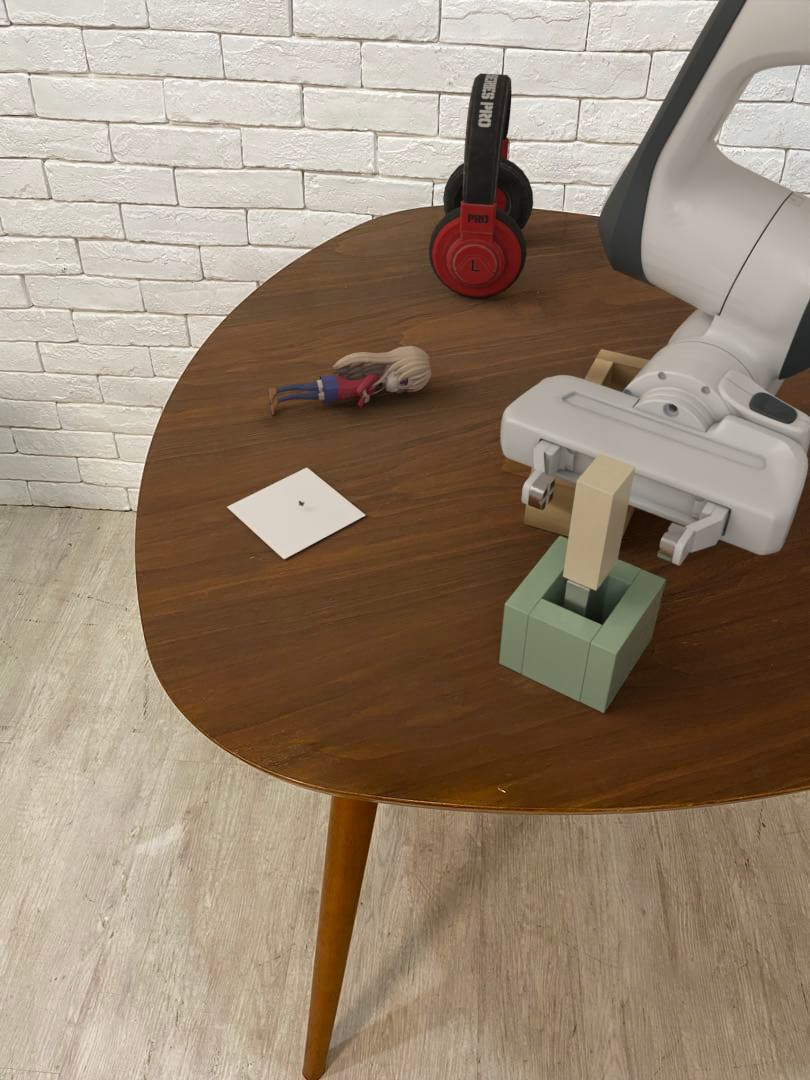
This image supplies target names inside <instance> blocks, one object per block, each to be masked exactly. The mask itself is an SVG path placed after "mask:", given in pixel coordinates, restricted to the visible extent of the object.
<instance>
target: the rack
mask: <svg viewBox="0 0 810 1080" xmlns="http://www.w3.org/2000/svg"><path fill="white" fill-rule="evenodd" d="M650 360H651V359H647V358H642V357H638V356H633V355H629V354H625V353H620V352H616V351H611V350H608V349H604V348H601V349H600V350H599V352H598V354H597V356H596V357H595V359H594V361H593V363H592V364H591V366H590V367H589V370H588V371H587V373H586V375H585V376H584V378H583V379H584V380H587V381H590V382H593V383H596V384H599V385H602V386H605V387H608V388H611V389H614V390H617V391H620V392H623V391H624V390H625V388H626V387H627V386H628V385H629V383H630V382H631V381H632V380H633V379H634V378H635V377H636V375H637V374H638V373H639V372H640V371H641V370H642V369H643V368H644V366H645V365H646V364H647V363H648V362H649V361H650ZM530 476H531V472H530V473H529V475H528V478H529V477H530ZM553 477H555V476H553ZM553 490H554V494H553V499H552V500H551V501H550V503H549V504H546V505H545V508H544V510H540V509H537V508H534V507H532V506H529V505H527V504H525V510H524V518H523V519H524V520H523V522H524V523H523V524H524V525H527V526H530V527H532V528H533V527H534V528H537V529H541V530H544V531H546V532H547V531H548V532H550V533H554V534H557V535H560V536H563V537H567V538H568V537H569V531H570V524H571V517H572V510H573V503H574V496H575V490H576V484H573V483H571V482H568V481H566V480H563V479H560V478H558V477H555V486H554V487H553ZM635 510H636V507H633V506H631V505H628V508H627V514H626V519H625V524H624V529H623V534H622V539H623V538H624V535H625V532H626V530H627V529H628V525H629V523H630V522H631V520H632V516H633V514H634V512H635ZM622 539H621V541H622Z"/></svg>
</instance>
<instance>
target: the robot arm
mask: <svg viewBox="0 0 810 1080" xmlns="http://www.w3.org/2000/svg"><path fill="white" fill-rule="evenodd" d="M794 66H810V0H718V1H717V4H716V5H715V7H714V8H713V10H712V12H711V14H710V16H709V17H708V18H707V20H706V23H705V24H704V26H703V27H702V29H701V31H700V33H699V35H698V37H696V40H695V41H694V44H693V45H692V47H691V49H690V51H689V52H688V55H687V56H686V58H685V60H684V62H683V64H682V66H681V67H680V69H679V71H678V73H677V75H676V77H675V79H673V80H674V81H673V82H672V84H671V86H670V88H669V90H668V92H667V94H666V95H665V97H664V99H663V101H662V103H661V105H660V106H659V109H658V110H657V112H656V114H655V116H654V118H653V120H652V121H651V123H650V125H649V127H648V129H647V130H646V132H645V134H644V136H643V138H642V139H641V142H640V144H639V145H638V147H637V148H636V150H635V152H634V153H633V155H631V157H630V158H629V159H628V160H627V162H626V163H625V165H623V167H622V168H621V169H620V171H619V172H618V174H617V176H616V177H615V178H614V181H613V182H612V184H611V186H610V187H609V189H608V191H607V194H606V195H605V198H604V201H603V203H602V206H601V210H600V215H599V216H598V220H597V229H598V234H599V238H600V242H601V245H602V247H603V250H604V252H605V255H606V258H607V260H608V262H609V264H610V267H611V268H612V270H613V271H615V272H617V273H620V274H622V275H624V276H627V277H630V278H632V279H634V280H637V281H639V282H642V283H643V284H646V285H648V286H651V287H654V288H655V287H657V288H659V289H660V290H662V291H664V292H666V293H668V294H670V295H672V296H674V297H676V298H677V299H678V300H679V299H680V300H681V301H683V302H685V303H687V304H689V305H691V306H692V307H694V308H695V310H694V311H693V312H692V313H691V314H690V315H689V316H688V317H687V318H686V319H685V320H684V321H683V322H682V323H681V324H680V326H678V328H677V329H676V330H675V331H674V332H673V334H672V335H671V337H670V338H669V341H668V342H667V344H666V345H664V346H663V347H662V348H660V349H658V351H657V352H656V353H655V354H653V356H652V357H651V358H650V359H649V360H650V361H649V362H648V363H647V364H646V365H645V366H644V368H643V369H642V370H641V371H640V372H639V373H638V374H637V375H636V377H635V378H634V379H633V380H632V381H631V382H630V383H629V385H628V386H627V387H626V388H625V390H624V391H623V392H620V391H617V390H614V389H611V388H608V387H605V386H602V385H599V384H596V383H593V382H590V381H587V380H584V378H581V377H577V376H574V375H569V374H558V375H553V376H548V377H545V378H543V379H542V380H540V381H539V382H538V383H537V384H535V385H534V386H532V387H531V388H530V389H528V390H526V391H525V392H523V393H522V394H521V395H520V396H518V397H516V399H515V400H513V401H512V402H511V403H510V404H509V405H508V406H507V407H505V409H504V411H503V414H502V417H501V422H500V430H499V431H500V432H499V433H500V434H499V438H500V439H499V441H500V447H501V450H502V454H503V455H504V457H505V458H507V459H509V460H511V461H514V462H516V463H519V464H521V465H525V466H527V467H530V468H531V470H530V473H531V476H530V477H529V476H528V478H527V479H526V481H525V482H524V483H523V486H522V490H521V503H522V504H524V505H526V504H527V505H529V506H532V507H534V508H537V509H540V510H544V508H545V505H546V504H549V503H550V501H551V500H552V499H553V494H554V490H553V487H554V486H555V477H558V478H560V479H563V480H566V481H568V482H571V483H573V484H576V483H577V480H578V479H579V478H580V476H581V475H582V474H583V473H584V472H585V471H586V469H587V468H588V467H589V466H590V465H591V463H592V462H593V461H594V460H595V459H596V457H597V456H598V455H599V454H602V455H605V456H608V457H610V458H613V459H616V460H619V461H621V462H624V463H627V464H629V465H632V466H635V472H634V477H633V482H632V488H631V493H630V498H629V503H628V505H631V506H633V507H635V509H639V510H642V511H644V512H646V513H648V514H652V515H654V516H656V517H659V518H662V519H665V520H667V521H670V522H671V523H670V525H669V526H668V527H667V531H666V532H664V533H663V535H662V537H661V539H660V542H659V545H658V548H659V550H658V551H657V555H656V556H657V558H658V559H662V560H664V561H666V562H669V563H672V564H674V565H676V566H678V567H680V566H681V565H682V564H683V562H684V561H685V559H686V558H687V556H688V555H689V553H695V552H698V551H701V550H704V549H707V548H710V547H713V546H716V545H717V543H718V542H719V541H722V542H724V543H727V544H729V545H733V546H734V547H737V548H739V549H743V550H746V551H748V552H751V554H752V553H753V554H755V555H758V556H767V555H772V554H776V553H778V552H780V551H781V550H782V548H783V546H784V544H785V543H786V540H787V538H788V535H789V532H790V529H791V527H792V524H793V521H794V519H795V516H796V513H797V510H798V506H799V504H800V500H801V497H802V494H803V491H804V487H805V484H806V480H807V476H808V472H809V471H808V470H809V458H808V453H809V449H810V416H809V415H808V414H806V413H805V412H803V411H801V410H800V409H797V408H796V407H794V406H792V405H791V404H789V403H787V402H786V401H783V400H782V399H780V398H778V397H777V396H776V395H777V394H778V392H779V390H780V389H781V387H782V385H783V384H784V382H785V380H786V379H788V378H791V377H794V376H796V375H798V374H800V373H802V372H804V371H806V370H808V369H810V197H809V196H807V195H805V194H803V193H800V192H799V191H797V190H796V191H795V190H794V191H793V190H792V189H791V188H788V187H786V186H784V185H782V184H779V183H777V182H776V181H774V180H771V179H769V178H767V177H765V176H764V175H762V174H759V173H757V172H755V171H753V170H750V169H748V168H747V167H746V166H745V167H744V166H743V165H741V164H738V163H737V162H734V161H733V160H732V159H730V158H729V157H728V156H726V155H725V154H724V152H723V151H722V150H721V149H720V148H719V147H718V145H717V144H716V141H715V139H716V137H717V135H718V134H719V133H720V131H721V129H722V127H723V126H724V124H725V123H726V121H727V119H728V118H729V116H730V115H731V113H732V111H733V109H735V106H736V105H737V103H738V102H739V100H740V99H741V97H742V96H743V94H744V92H746V89H747V87H748V86H749V84H750V83H751V81H752V79H753V78H754V77H755V75H756V74H758V73H760V72H763V71H766V70H769V69H774V68H775V69H776V68H782V67H783V68H784V67H794ZM553 476H555V477H553Z"/></svg>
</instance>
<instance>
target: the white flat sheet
mask: <svg viewBox="0 0 810 1080" xmlns="http://www.w3.org/2000/svg"><path fill="white" fill-rule="evenodd" d="M226 508H227V509H228V510H229V511H230V512H231V513H233V514H234V515H235V516H236V518H238V519H239V520H240V521H241V522H242V523H243V524H245V526H247V527H248V528H249V529H250V530H251V531H252V532H253V533H254V534H255V535H256V536H258V537H259V538H260V539H261V540H262V541H263V542H264V543H265V544H267V546H268V547H270V549H272V550H273V551H274V552H275V553H276V554H277V555H278V556H279V557H280V558H282V559H283V560H286V559H288V558H289V557H291V556H293V555H295V554H297V553H298V552H301V551H302V550H305V549H306V548H308V547H310V546H311V545H313V544H316V543H317V542H319V541H321V540H323V539H324V538H326V537H329V536H330V535H333V534H334V533H336V532H338V531H340V530H342V529H343V528H345V527H347V526H349V525H350V524H353V523H354V522H356V521H358V520H360V519H361V518H363V517H365V516H366V514H365V513H364V512H362V511H361V510H360V509H359V508H357V506H355V505H354V504H352V503H351V501H349V500H348V499H346V498H345V497H344V496H343V495H342V494H340V493H339V492H338V491H337V490H335V489H334V488H333V487H332V486H331V485H329V484H328V482H326V481H325V480H323V479H322V478H320V477H319V476H318V474H316V473H315V472H313V471H312V470H311V469H310V468H308V467H305V468H303V469H301V470H298V471H297V472H295V473H292V474H290V475H288V476H286V477H284V478H283V479H280V480H278V481H276V482H274V483H273V484H270V485H268V486H266V487H265V488H262V489H260V490H258V491H256V492H254V493H253V494H250V495H247V496H246V497H244V498H242V499H240V500H237V501H236V502H234V503H232V504H230V505H228V506H226Z"/></svg>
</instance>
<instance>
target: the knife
mask: <svg viewBox="0 0 810 1080" xmlns="http://www.w3.org/2000/svg"><path fill="white" fill-rule="evenodd" d="M634 472H635V466H632V465H629V464H627V463H624V462H621V461H619V460H616V459H613V458H610V457H608V456H605V455H602V454H599V455H598V456H597V457H596V459H595V460H594V461H593V462H592V463H591V465H590V466H589V467H588V468H587V469H586V471H585V472H584V473H583V474H582V475H581V476H580V478H579V479H578V480H577V483H576V490H575V496H574V503H573V510H572V517H571V524H570V531H569V537H568V536H567V539H568V544H567V551H566V558H565V565H564V572H563V577H565V578H567V579H568V581H567V585H566V591H565V598H564V605H563V608H565V609H567V610H569V611H571V612H574V613H576V614H578V615H581V616H583V617H585V618H587V619H590V620H592V621H594V622H596V623H599V624H600V623H601V618H602V612H603V607H604V602H605V596H606V591H607V586H608V580H609V575H610V571H611V570H612V568H613V567H614V566H615V564H616V563H617V560H618V559H619V554H620V549H621V545H622V540H621V539H623V537H622V534H623V529H624V524H625V519H626V514H627V508H628V503H629V498H630V493H631V488H632V482H633V477H634Z"/></svg>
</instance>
